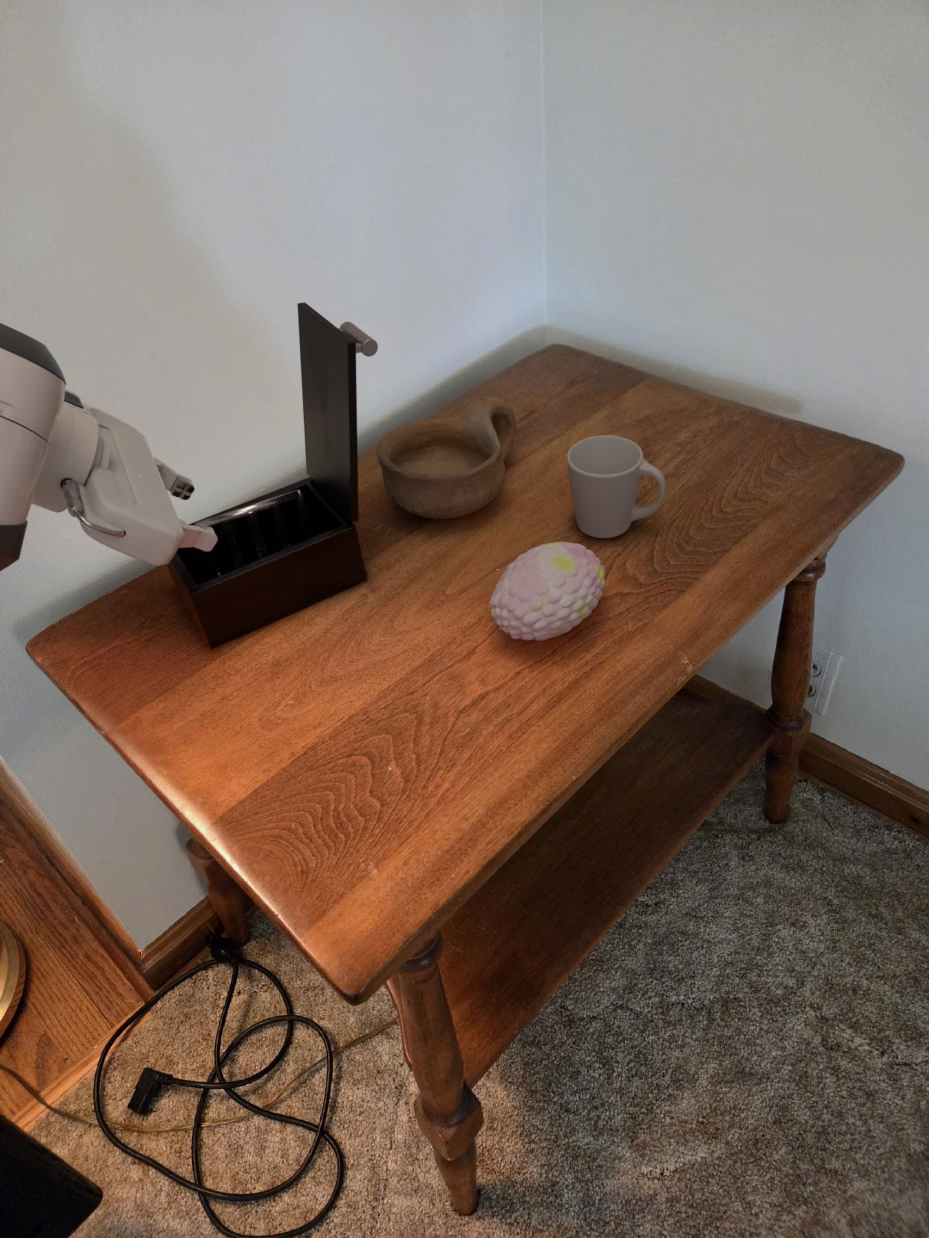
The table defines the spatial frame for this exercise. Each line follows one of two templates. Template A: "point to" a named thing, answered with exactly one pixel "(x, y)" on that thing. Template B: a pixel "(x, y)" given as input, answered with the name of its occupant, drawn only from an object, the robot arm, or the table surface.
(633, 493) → the cup
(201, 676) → the table surface
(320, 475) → the oven door
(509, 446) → the bowl
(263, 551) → the rack
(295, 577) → the oven
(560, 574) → the decorative item
